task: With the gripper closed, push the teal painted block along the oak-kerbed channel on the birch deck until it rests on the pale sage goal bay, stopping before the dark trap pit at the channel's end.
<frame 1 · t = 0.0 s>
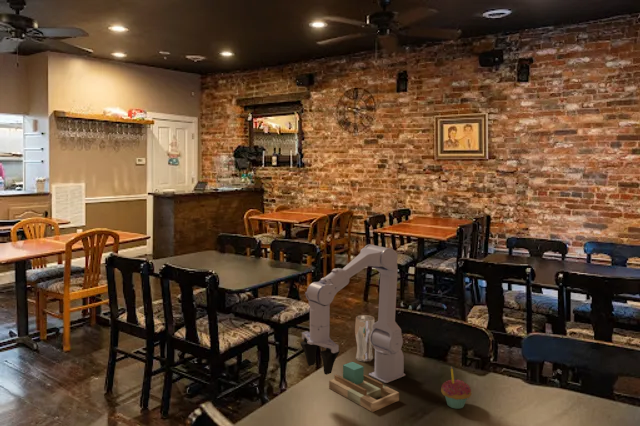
hand: (319, 369, 149), 10 cm above the table, fingers open, 7 cm apart
beer glass: (364, 359, 182), on the table
teal block: (353, 381, 158), point 2 cm above the table, touching channel board
channel board: (363, 394, 155), on the table
cupcake: (455, 405, 149), on the table
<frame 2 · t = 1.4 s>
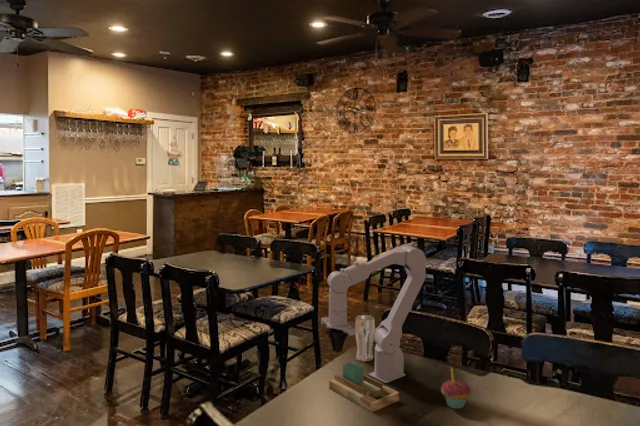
hand: (337, 351, 163), 10 cm above the table, fingers closed
nothing on the table moved.
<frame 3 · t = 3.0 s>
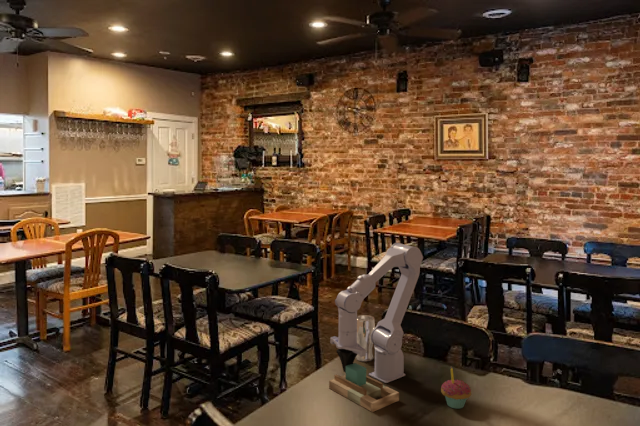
hand: (347, 371, 160), 5 cm above the table, fingers closed
teal block: (355, 382, 157), point 3 cm above the table, touching gripper
everything else where it was.
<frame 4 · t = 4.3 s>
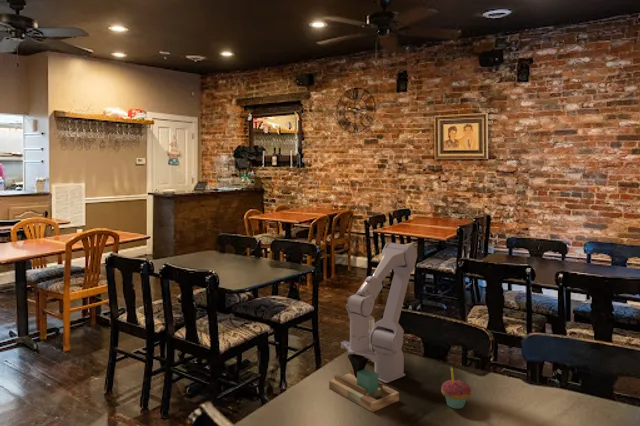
hand: (358, 377, 156), 5 cm above the table, fingers closed
teal block: (367, 388, 153), point 2 cm above the table, touching channel board, gripper
everything else where it was.
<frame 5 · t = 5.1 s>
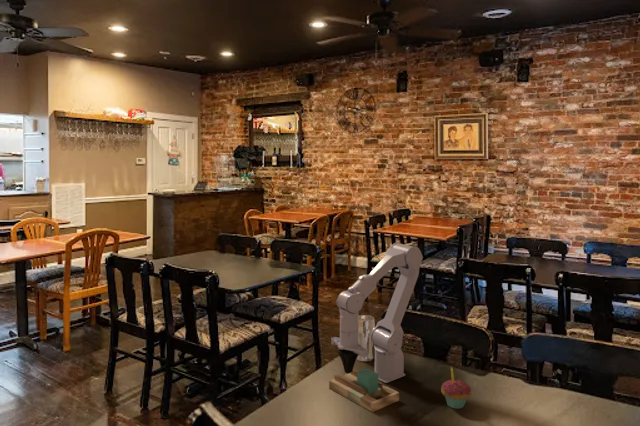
hand: (348, 372, 159), 5 cm above the table, fingers closed
teal block: (367, 388, 153), point 2 cm above the table, touching channel board
everything else where it was.
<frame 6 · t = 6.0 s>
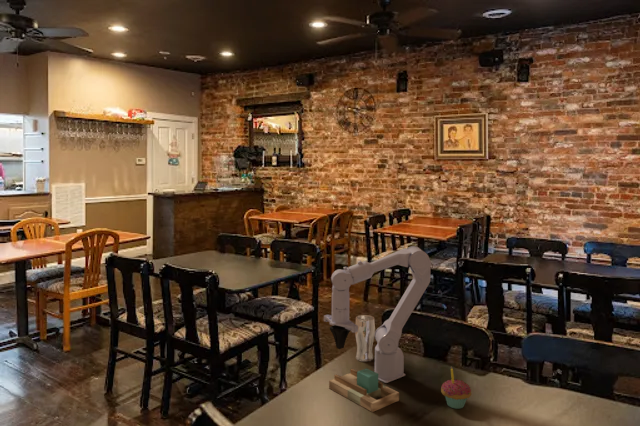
hand: (340, 347, 166), 10 cm above the table, fingers closed
nothing on the table moved.
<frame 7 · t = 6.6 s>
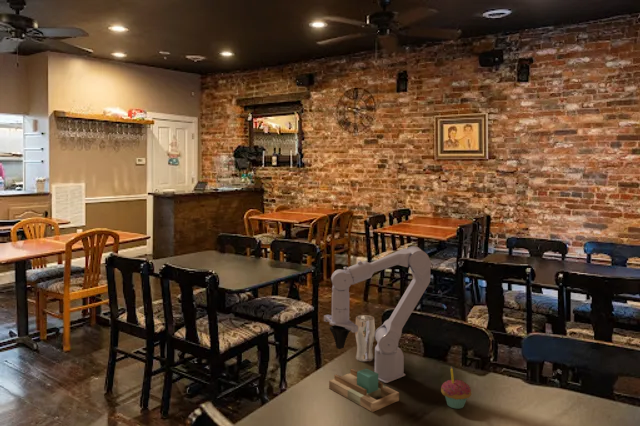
hand: (340, 347, 166), 10 cm above the table, fingers closed
nothing on the table moved.
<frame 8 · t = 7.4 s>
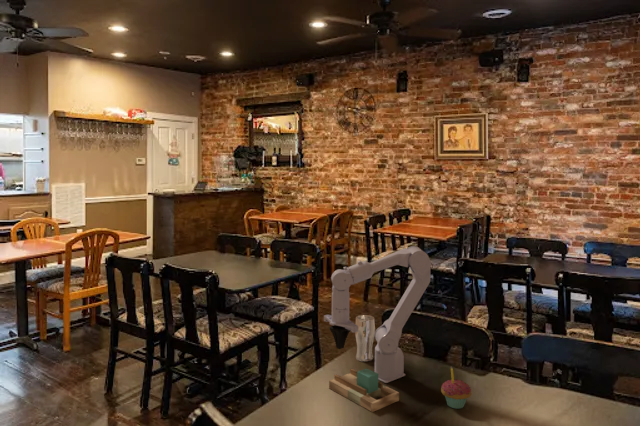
hand: (340, 347, 166), 10 cm above the table, fingers closed
nothing on the table moved.
at the end: teal block 0.6 cm from the target spot, point 2.5 cm above the table; teal block tilted 0° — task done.
